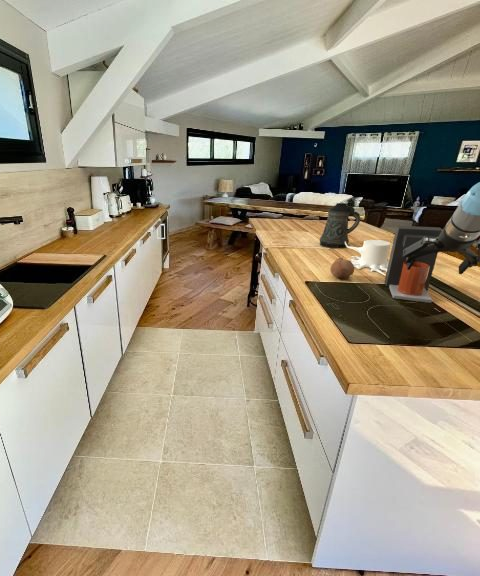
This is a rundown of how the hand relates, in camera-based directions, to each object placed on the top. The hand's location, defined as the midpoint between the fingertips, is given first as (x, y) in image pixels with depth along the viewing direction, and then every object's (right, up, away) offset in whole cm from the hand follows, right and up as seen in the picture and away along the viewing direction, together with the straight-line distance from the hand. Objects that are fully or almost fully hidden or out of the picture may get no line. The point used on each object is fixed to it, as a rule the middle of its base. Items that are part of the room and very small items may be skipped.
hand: (433, 268), depth 100 cm
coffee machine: (+7, -8, +23) cm, 25 cm away
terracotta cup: (+6, -8, +20) cm, 22 cm away
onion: (-11, -2, +39) cm, 40 cm away
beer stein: (+11, +20, +92) cm, 95 cm away
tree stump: (+12, +5, +55) cm, 57 cm away
